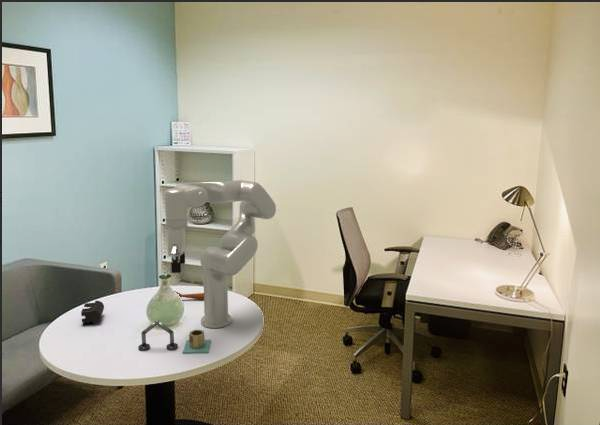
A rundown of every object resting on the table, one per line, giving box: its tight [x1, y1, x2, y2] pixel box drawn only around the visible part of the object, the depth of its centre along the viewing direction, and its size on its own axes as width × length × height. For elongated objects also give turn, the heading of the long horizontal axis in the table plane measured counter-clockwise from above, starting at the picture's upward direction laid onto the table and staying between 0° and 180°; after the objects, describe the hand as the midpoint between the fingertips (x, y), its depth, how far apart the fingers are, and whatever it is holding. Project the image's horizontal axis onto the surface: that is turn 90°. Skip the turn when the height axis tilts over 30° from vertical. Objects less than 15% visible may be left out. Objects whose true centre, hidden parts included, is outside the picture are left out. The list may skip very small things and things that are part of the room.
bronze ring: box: [188, 329, 206, 349], centre depth 174 cm, size 5×5×5 cm
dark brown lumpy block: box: [80, 300, 105, 327], centre depth 194 cm, size 10×7×7 cm
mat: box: [182, 339, 212, 355], centre depth 175 cm, size 9×9×1 cm
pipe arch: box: [137, 319, 179, 352], centre depth 173 cm, size 4×14×11 cm, turn 94°
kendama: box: [174, 290, 204, 301], centre depth 216 cm, size 6×6×20 cm
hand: (178, 268), depth 175 cm, fingers open, 9 cm apart
